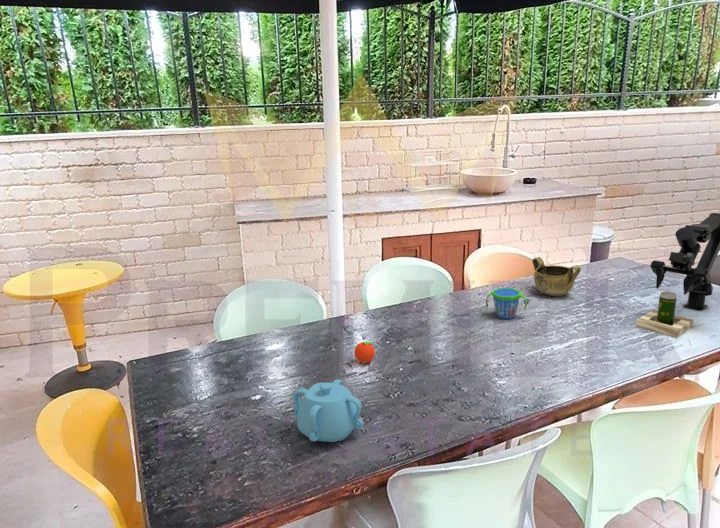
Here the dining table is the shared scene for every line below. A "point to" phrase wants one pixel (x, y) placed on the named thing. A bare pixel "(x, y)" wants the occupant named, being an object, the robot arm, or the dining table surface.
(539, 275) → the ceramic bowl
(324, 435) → the decorative pot
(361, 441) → the dining table surface
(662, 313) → the beer can
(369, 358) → the clementine
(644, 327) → the birch tray
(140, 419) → the dining table surface
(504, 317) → the snack cup
